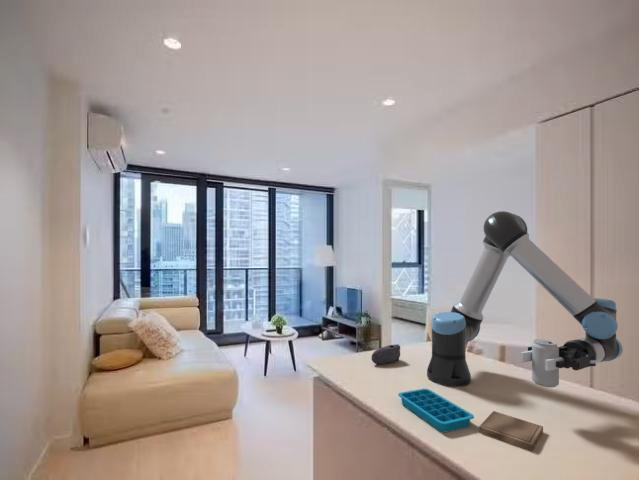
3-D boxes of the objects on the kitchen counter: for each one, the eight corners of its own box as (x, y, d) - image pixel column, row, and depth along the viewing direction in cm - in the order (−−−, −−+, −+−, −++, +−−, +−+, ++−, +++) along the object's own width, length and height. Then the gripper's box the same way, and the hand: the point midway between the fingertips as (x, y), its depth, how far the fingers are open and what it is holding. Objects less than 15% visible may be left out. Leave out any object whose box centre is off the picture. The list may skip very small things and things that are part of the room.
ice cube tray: (426, 397, 110) (426, 387, 110) (476, 427, 92) (476, 416, 92) (396, 403, 106) (396, 393, 106) (442, 436, 87) (442, 424, 87)
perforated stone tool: (375, 367, 137) (375, 350, 137) (367, 363, 142) (367, 346, 142) (404, 362, 144) (404, 345, 144) (396, 358, 148) (396, 342, 148)
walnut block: (479, 432, 89) (479, 425, 89) (493, 416, 97) (493, 410, 97) (532, 451, 80) (532, 444, 80) (543, 432, 89) (543, 425, 89)
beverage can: (563, 389, 93) (563, 345, 93) (537, 387, 94) (537, 343, 94) (552, 380, 99) (552, 339, 99) (528, 378, 100) (528, 337, 101)
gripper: (620, 375, 95) (571, 388, 86) (549, 354, 113) (502, 363, 103) (621, 348, 95) (571, 358, 86) (550, 332, 113) (502, 338, 103)
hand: (533, 361), depth 95 cm, fingers closed on beverage can, 6 cm apart
